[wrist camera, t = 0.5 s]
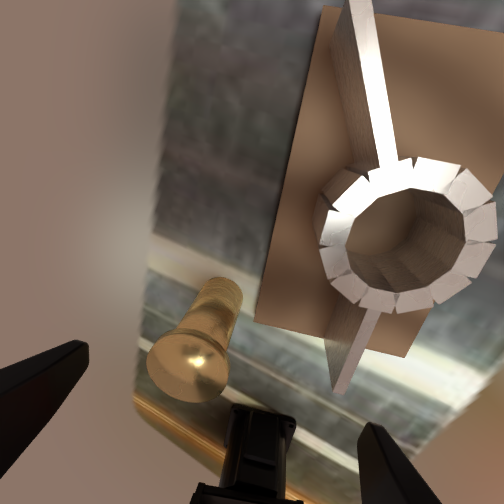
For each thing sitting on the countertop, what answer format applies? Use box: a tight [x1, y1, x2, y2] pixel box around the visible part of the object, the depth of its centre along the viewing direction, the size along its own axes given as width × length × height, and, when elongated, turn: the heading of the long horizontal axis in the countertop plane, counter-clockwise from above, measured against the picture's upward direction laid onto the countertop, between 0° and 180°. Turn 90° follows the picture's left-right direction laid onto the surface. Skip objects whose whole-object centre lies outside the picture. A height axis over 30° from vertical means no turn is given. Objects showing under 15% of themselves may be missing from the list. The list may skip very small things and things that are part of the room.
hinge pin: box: [146, 277, 243, 403], centre depth 18 cm, size 5×5×8 cm
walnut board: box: [253, 5, 504, 358], centre depth 17 cm, size 20×12×1 cm, turn 170°
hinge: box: [312, 0, 498, 395], centre depth 15 cm, size 19×9×5 cm, turn 170°
